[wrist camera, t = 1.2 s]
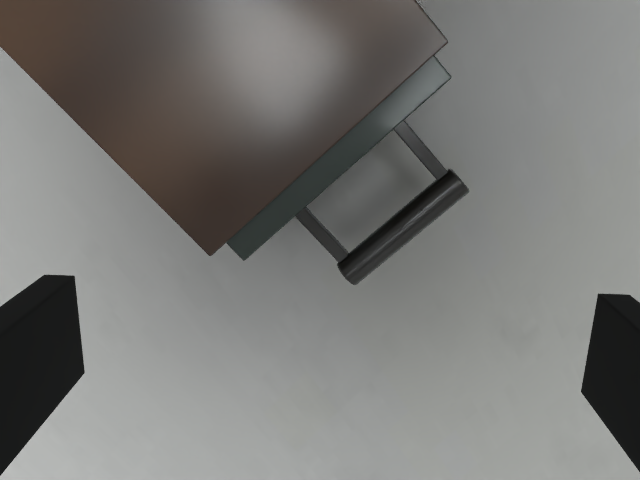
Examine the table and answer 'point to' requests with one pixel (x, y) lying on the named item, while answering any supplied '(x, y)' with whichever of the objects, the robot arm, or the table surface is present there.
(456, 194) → the drawer
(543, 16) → the table surface
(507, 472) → the table surface
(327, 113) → the cabinet
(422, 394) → the table surface
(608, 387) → the robot arm
